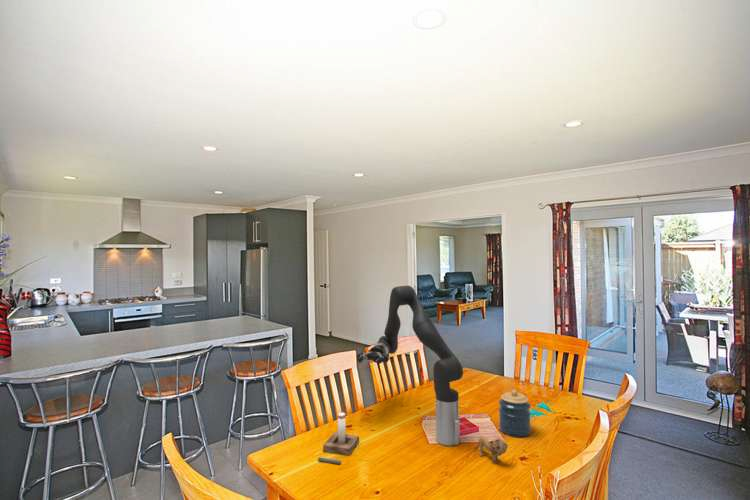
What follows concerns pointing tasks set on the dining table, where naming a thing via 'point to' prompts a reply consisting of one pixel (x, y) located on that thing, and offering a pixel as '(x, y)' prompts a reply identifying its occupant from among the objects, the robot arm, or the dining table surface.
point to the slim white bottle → (341, 428)
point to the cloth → (537, 413)
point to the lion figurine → (492, 447)
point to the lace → (329, 460)
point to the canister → (514, 414)
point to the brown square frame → (339, 448)
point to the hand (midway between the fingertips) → (368, 361)
